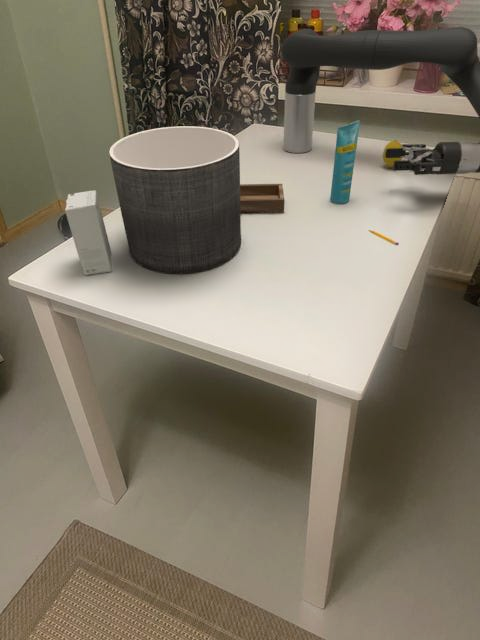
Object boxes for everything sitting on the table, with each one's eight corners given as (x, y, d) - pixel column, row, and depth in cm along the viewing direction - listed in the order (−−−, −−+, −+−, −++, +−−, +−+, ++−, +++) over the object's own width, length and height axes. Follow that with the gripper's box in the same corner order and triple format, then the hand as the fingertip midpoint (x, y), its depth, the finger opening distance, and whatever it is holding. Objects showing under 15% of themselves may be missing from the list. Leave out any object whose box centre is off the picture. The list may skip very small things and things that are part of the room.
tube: (338, 207, 119) (347, 128, 107) (323, 201, 122) (330, 124, 110) (356, 198, 123) (366, 121, 111) (340, 193, 126) (349, 117, 114)
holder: (236, 197, 125) (236, 184, 123) (281, 196, 125) (282, 183, 123) (235, 213, 118) (235, 200, 116) (283, 213, 117) (284, 199, 115)
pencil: (396, 246, 104) (396, 243, 103) (366, 232, 109) (367, 229, 109) (398, 245, 104) (399, 242, 104) (369, 230, 110) (369, 228, 109)
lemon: (402, 166, 140) (407, 138, 135) (396, 172, 136) (401, 144, 131) (384, 163, 142) (389, 135, 137) (378, 169, 138) (382, 141, 133)
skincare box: (112, 272, 98) (97, 205, 89) (82, 276, 97) (63, 209, 88) (111, 252, 104) (97, 188, 95) (83, 256, 103) (66, 191, 94)
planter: (106, 262, 101) (81, 160, 87) (163, 212, 119) (150, 121, 106) (214, 285, 93) (206, 177, 80) (257, 228, 112) (257, 132, 98)
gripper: (450, 133, 118) (385, 134, 119) (471, 152, 107) (399, 154, 108) (443, 162, 123) (380, 163, 123) (462, 184, 112) (393, 185, 112)
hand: (389, 159), depth 116 cm, fingers open, 8 cm apart
